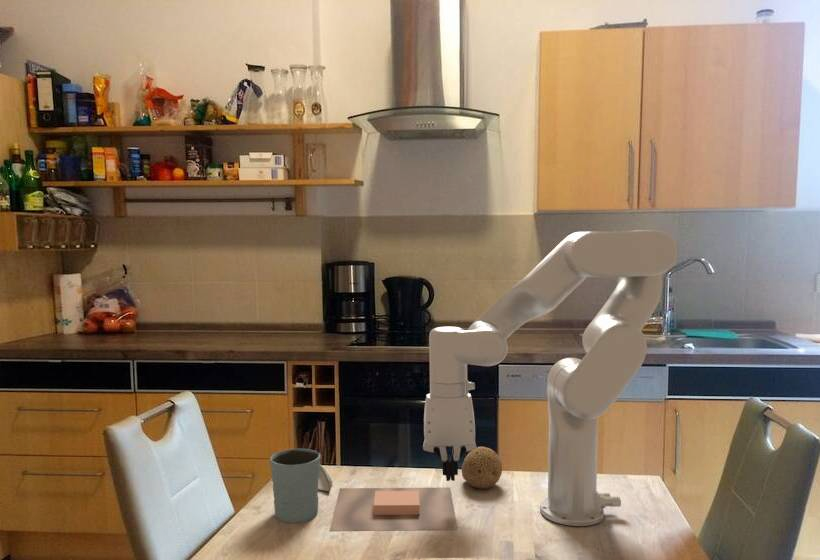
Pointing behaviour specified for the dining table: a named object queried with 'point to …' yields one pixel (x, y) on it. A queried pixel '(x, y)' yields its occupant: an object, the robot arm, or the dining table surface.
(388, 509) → the tile
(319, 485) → the ceramic fragment
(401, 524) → the board
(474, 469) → the natural sponge
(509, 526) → the dining table surface
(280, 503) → the grey green cup
